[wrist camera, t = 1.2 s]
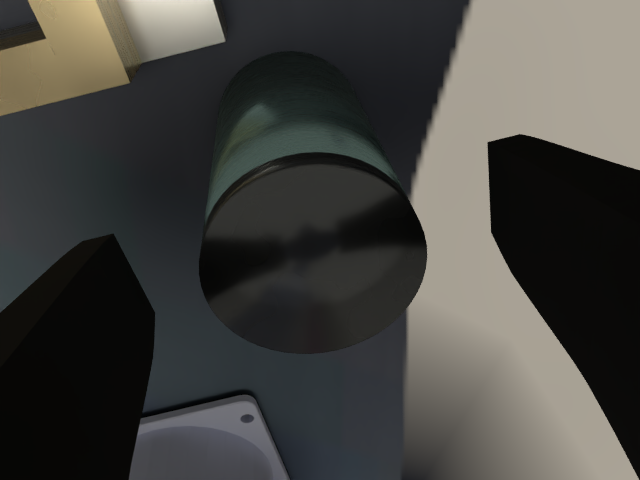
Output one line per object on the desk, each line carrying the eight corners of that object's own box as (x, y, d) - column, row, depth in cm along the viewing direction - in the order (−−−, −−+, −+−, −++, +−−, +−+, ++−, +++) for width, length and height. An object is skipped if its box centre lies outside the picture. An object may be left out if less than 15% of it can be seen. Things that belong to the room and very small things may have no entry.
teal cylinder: (369, 168, 16) (436, 326, 11) (242, 200, 16) (238, 373, 11) (345, 34, 14) (413, 141, 8) (198, 72, 14) (163, 202, 8)
